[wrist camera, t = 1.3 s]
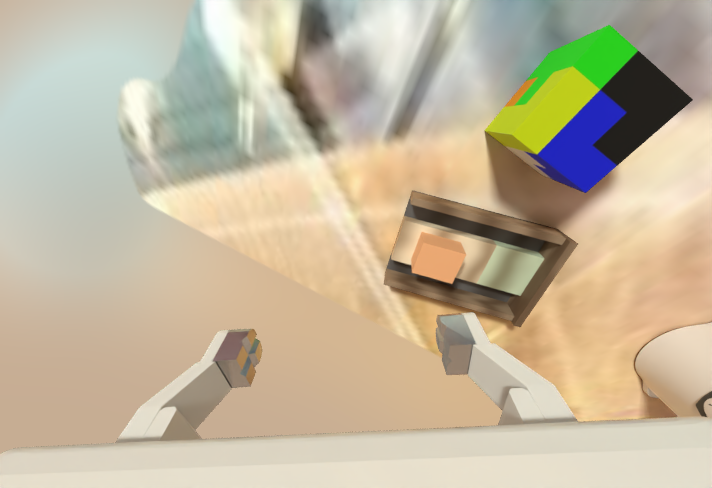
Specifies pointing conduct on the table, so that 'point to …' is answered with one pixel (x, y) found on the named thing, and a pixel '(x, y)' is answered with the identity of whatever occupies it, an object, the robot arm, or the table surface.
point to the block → (437, 257)
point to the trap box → (480, 257)
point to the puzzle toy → (587, 109)
